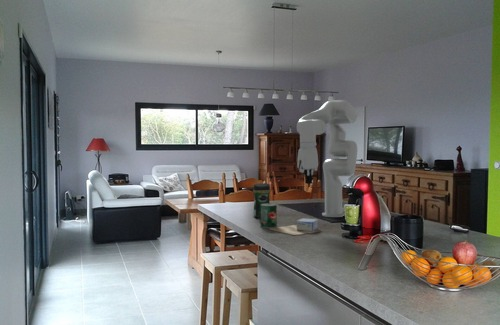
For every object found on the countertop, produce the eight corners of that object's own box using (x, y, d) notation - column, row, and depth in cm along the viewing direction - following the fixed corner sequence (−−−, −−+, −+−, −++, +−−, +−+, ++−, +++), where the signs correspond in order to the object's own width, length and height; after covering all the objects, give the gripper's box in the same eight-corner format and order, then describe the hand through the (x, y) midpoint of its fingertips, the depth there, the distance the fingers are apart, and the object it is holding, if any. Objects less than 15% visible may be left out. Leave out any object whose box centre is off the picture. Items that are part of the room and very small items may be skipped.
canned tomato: (275, 228, 218) (275, 205, 218) (259, 227, 220) (259, 205, 219) (277, 225, 226) (277, 203, 226) (262, 224, 228) (262, 203, 227)
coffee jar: (269, 215, 256) (269, 182, 255) (271, 217, 248) (271, 183, 247) (252, 215, 255) (251, 182, 254) (254, 218, 247) (254, 184, 246)
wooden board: (295, 225, 225) (295, 224, 225) (320, 231, 210) (320, 230, 210) (269, 229, 216) (269, 228, 216) (293, 235, 201) (293, 234, 201)
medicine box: (302, 226, 219) (296, 230, 211) (302, 217, 219) (296, 220, 211) (318, 228, 215) (312, 231, 208) (318, 219, 215) (312, 222, 207)
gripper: (314, 144, 227) (314, 181, 228) (291, 146, 218) (291, 184, 220) (324, 145, 221) (325, 182, 222) (301, 146, 212) (302, 185, 214)
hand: (308, 183), depth 221 cm, fingers closed
